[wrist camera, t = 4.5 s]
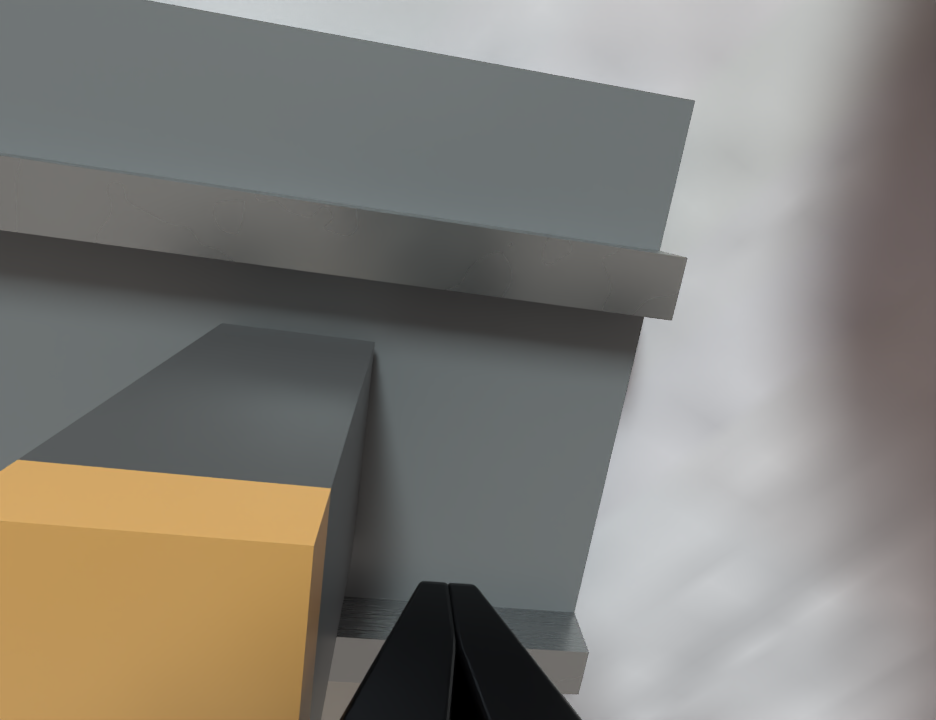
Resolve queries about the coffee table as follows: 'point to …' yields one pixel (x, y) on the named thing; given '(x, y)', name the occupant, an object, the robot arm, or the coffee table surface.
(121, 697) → the handle
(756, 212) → the coffee table surface
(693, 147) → the coffee table surface
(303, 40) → the panel
